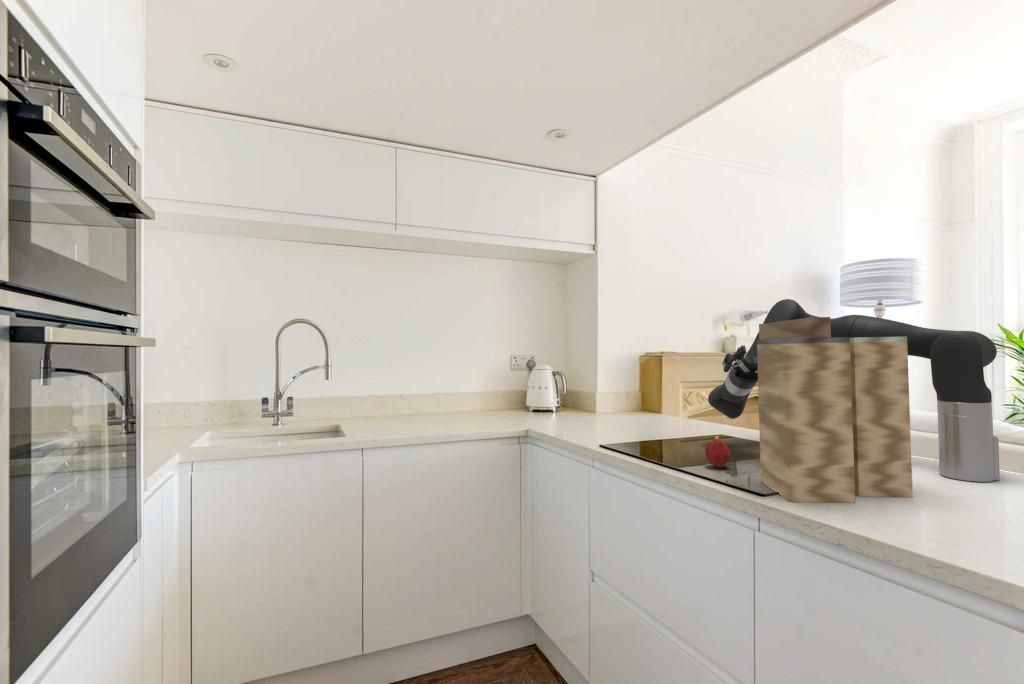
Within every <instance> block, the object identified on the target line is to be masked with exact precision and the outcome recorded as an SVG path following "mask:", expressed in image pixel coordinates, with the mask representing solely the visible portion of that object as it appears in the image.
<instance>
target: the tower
mask: <svg viewBox="0 0 1024 684" xmlns="http://www.w3.org/2000/svg"><path fill="white" fill-rule="evenodd" d="M908 358H909V355H908V350H907V336H906V337H857V338H850V359H851V389H852V420H853V450H854V481H855V496H857V497H860V498H861V497H863V498H865V497H867V498H875V497H876V498H877V497H878V498H913V494H914V493H913V472H912V471H913V467H912V444H911V443H912V441H911V435H912V434H911V415H910V414H911V412H910V409H911V408H910V407H911V406H910V384H909V383H910V382H909V359H908ZM894 496H895V497H894Z"/></svg>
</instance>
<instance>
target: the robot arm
mask: <svg viewBox="0 0 1024 684" xmlns="http://www.w3.org/2000/svg"><path fill="white" fill-rule="evenodd" d="M810 317H818V315H817V316H816V315H813V314H809V313H808V312H807V311H805V309H804V308H803V307H802V306H801V305H800V304H799V303H798V302H797V301H795V300H794V299H790V298H786V299H782V300H778V301H777V302H776V303H774V305H772V307H771V308H770V309H769V312H768V313H767V315H766V317H765V319H764V320H763V323H762V324H764V323H772V322H779V321H787V320H794V319H801V318H810ZM830 325H831V338H842V337H850V338H857V337H906V336H907V350H908V357H909V356H910V357H911V356H912V357H917V358H918V357H919V358H924V359H927V360H930V370H931V371H930V372H931V383H932V386H933V389H934V390H935V394H936V405H937V406H936V410H937V433H938V437H937V439H938V462H939V464H938V466H939V475H940V476H943V477H946V478H950V479H953V480H954V479H955V480H960V481H967V482H978V483H979V482H981V483H987V482H994V481H1000V480H1001V475H1000V473H1001V471H1000V468H1001V467H1000V447H999V437H998V436H997V435H994V424H993V420H994V419H993V418H994V417H993V402H992V401H993V399H992V390H991V389H990V388H989V387H988V386H987V384H986V382H985V381H986V380H985V373H984V368H985V367H987V366H988V365H990V364H991V363H993V362H994V361H995V359H996V357H997V354H998V350H997V346H996V345H995V342H993V340H992V339H990V338H989V337H988V336H986V335H985V334H983V333H981V332H978V331H975V330H974V331H973V330H950V329H949V330H948V329H939V328H937V329H936V328H928V327H922V326H917V325H913V324H909V323H905V322H901V321H897V320H891V319H887V318H883V317H876V316H870V315H864V314H863V315H862V314H849V315H848V314H847V315H842V316H840V317H835V318H830ZM757 340H759V331H758V332H757V334H756V337H755V338H754V340H753V342H752V344H751V345H750V348H749V349H748V351H747V349H746V345H743V344H742V345H741V346H740V347H737V350H736V351H735V352H734V353H733V354H731V353H730V352H729V353H726V354H725V355H724V358H723V361H722V370H723V372H724V373H727V374H726V377H725V380H724V381H723V383H722V384H721V385H718V386H717V387H715V388H714V389H712V391H710V393H709V394H708V395H707V396H708V398H707V401H708V404H709V405H710V406H711V407H712V408H714V409H715V410H716V411H718V412H719V413H721V414H722V415H724V416H726V417H727V418H729V419H731V420H735V419H736V418H739V417H740V416H742V414H743V412H744V410H745V407H746V405H747V401H748V399H749V396H750V394H751V392H752V390H753V389H754V388H755V386H756V385H758V360H757Z"/></svg>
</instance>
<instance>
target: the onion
mask: <svg viewBox="0 0 1024 684" xmlns="http://www.w3.org/2000/svg"><path fill="white" fill-rule="evenodd" d="M704 455H705V457H706V459H707V460H708V462H709V463H710V465H712V466H714V467H715V468H717V469H719V468H721V467H723V466H724V465H725V464H727V462H728V461H729V460H730V458H731V457H730V456H731V451H730V448H729V446H728V444H726V442H724V441H723V440H721V438H720V437H719V436H718V435H716V436H714V439H713V440H712V441H710V442H709V443H708V444H707V445H706V448H705V451H704Z"/></svg>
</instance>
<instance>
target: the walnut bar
mask: <svg viewBox="0 0 1024 684" xmlns="http://www.w3.org/2000/svg"><path fill="white" fill-rule="evenodd" d="M830 319H831V316H823V317H822V316H821V317H820V316H817V317H810V318H801V319H794V320H787V321H779V322H772V323H764V324H763V323H759V324H758V332H759V340H770V339H793V338H831V325H830Z"/></svg>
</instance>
